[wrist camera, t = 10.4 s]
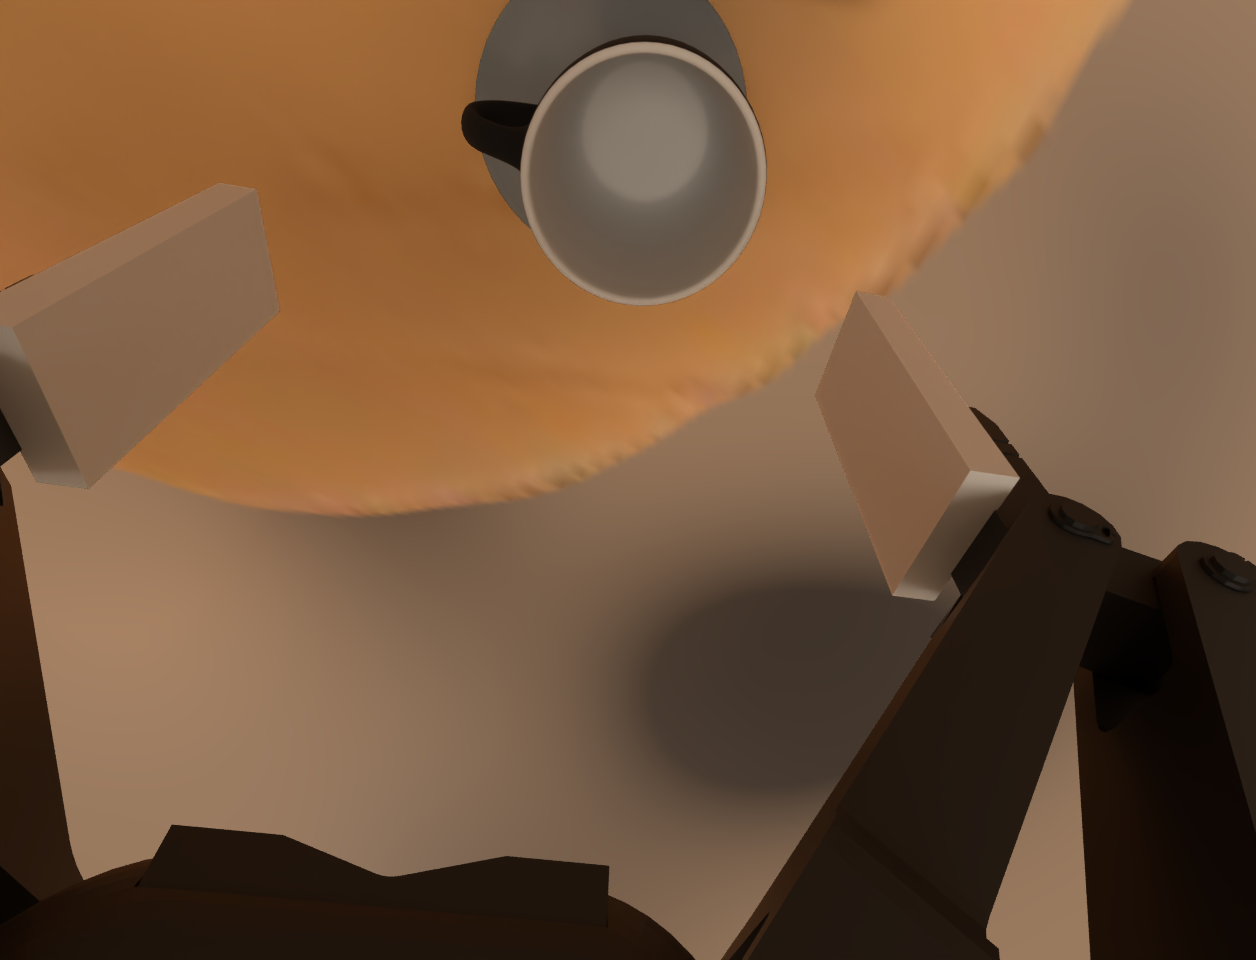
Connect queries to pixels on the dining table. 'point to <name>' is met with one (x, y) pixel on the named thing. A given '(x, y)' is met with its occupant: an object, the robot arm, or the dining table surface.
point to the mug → (634, 168)
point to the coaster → (581, 51)
